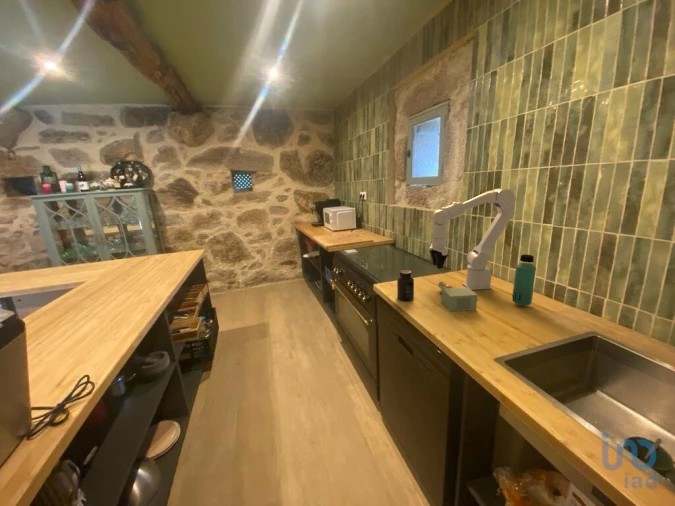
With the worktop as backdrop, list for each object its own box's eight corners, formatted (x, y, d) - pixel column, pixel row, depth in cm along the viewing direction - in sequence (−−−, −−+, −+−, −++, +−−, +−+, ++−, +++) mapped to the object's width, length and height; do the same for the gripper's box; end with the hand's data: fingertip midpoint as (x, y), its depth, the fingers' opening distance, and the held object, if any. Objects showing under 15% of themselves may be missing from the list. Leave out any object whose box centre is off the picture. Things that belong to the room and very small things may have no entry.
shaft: (436, 289, 124) (436, 280, 123) (446, 289, 124) (446, 279, 123) (450, 303, 110) (450, 292, 109) (461, 302, 110) (462, 292, 109)
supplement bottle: (414, 295, 120) (415, 269, 117) (413, 302, 113) (413, 274, 110) (398, 294, 122) (398, 268, 119) (396, 300, 116) (396, 273, 113)
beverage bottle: (532, 304, 106) (539, 254, 101) (529, 311, 102) (536, 258, 97) (513, 300, 111) (519, 252, 106) (509, 306, 106) (515, 255, 101)
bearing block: (465, 300, 112) (466, 286, 111) (476, 309, 105) (477, 294, 103) (441, 302, 112) (442, 288, 111) (449, 311, 104) (450, 296, 103)
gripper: (424, 234, 130) (423, 262, 134) (436, 241, 116) (435, 272, 120) (439, 234, 131) (438, 261, 134) (453, 240, 116) (451, 271, 120)
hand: (437, 266), depth 127 cm, fingers open, 4 cm apart
